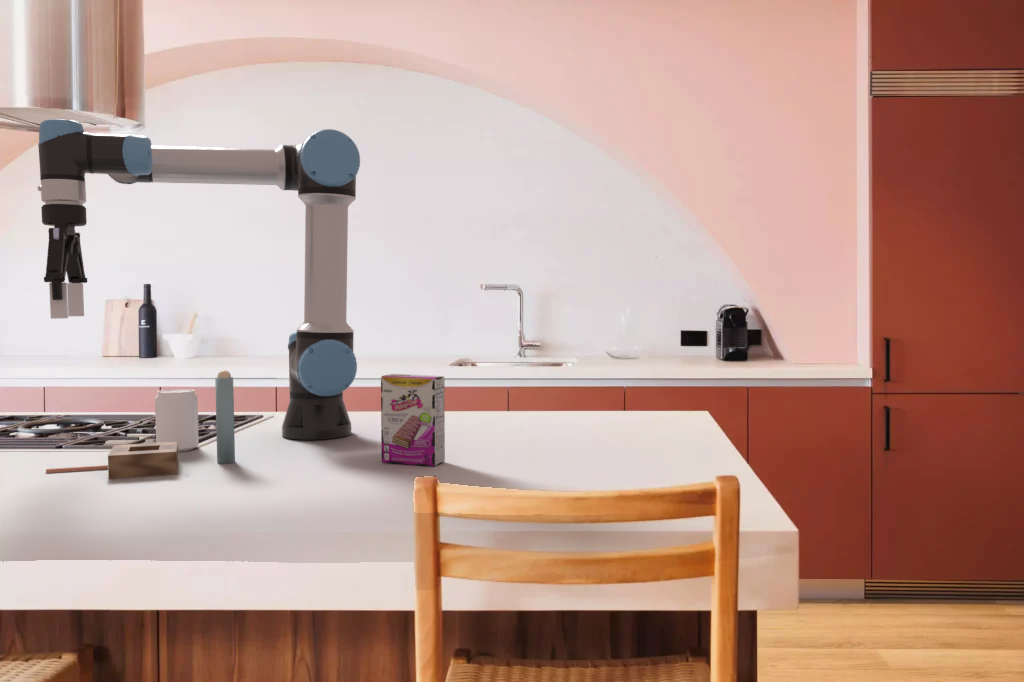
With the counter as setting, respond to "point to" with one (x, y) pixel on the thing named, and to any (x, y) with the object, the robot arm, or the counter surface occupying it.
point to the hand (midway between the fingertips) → (68, 317)
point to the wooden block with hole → (143, 460)
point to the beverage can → (177, 418)
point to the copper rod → (76, 469)
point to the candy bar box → (412, 419)
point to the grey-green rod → (225, 418)
